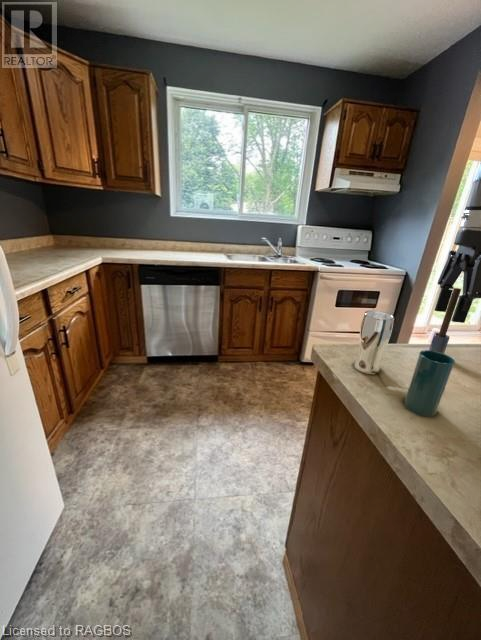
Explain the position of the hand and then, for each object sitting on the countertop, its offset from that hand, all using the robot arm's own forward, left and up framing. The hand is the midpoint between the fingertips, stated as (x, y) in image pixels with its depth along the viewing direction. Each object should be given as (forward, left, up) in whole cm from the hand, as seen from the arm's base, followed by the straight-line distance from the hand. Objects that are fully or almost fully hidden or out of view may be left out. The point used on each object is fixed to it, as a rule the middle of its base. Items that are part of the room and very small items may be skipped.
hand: (448, 316), depth 75 cm
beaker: (+15, +27, -13) cm, 33 cm away
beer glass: (+22, +12, -13) cm, 28 cm away
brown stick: (0, 0, -12) cm, 12 cm away
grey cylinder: (0, 0, -13) cm, 13 cm away
